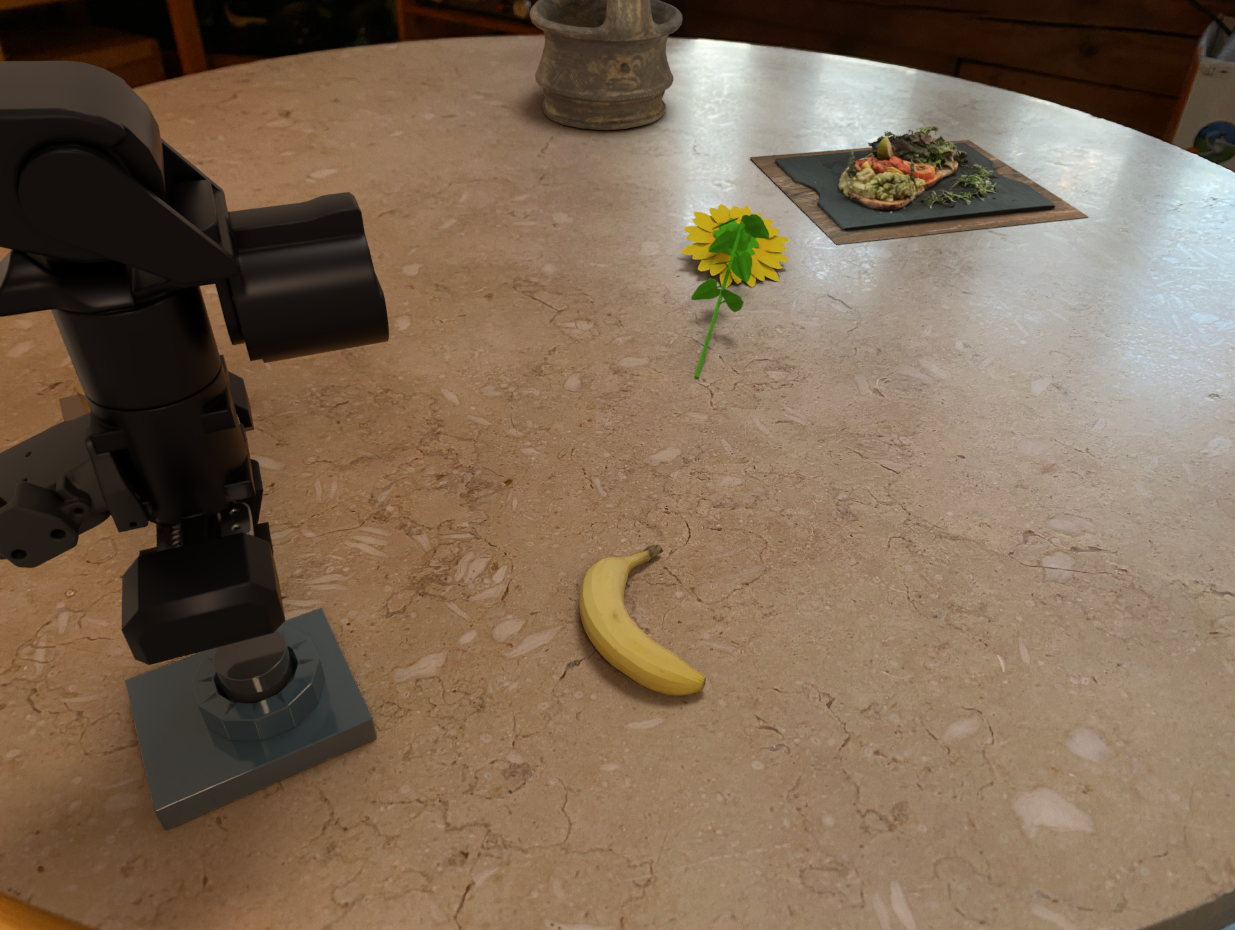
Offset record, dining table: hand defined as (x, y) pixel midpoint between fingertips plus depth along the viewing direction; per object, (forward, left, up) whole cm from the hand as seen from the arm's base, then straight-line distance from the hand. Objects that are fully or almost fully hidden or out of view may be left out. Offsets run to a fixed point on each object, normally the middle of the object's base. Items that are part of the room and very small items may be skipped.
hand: (235, 612), depth 52 cm
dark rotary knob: (0, 0, -5) cm, 5 cm away
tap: (-3, +31, -6) cm, 32 cm away
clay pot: (+73, +86, -9) cm, 113 cm away
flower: (+56, +29, -9) cm, 63 cm away
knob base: (-1, 0, -9) cm, 9 cm away
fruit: (+23, -5, -9) cm, 25 cm away
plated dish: (+94, +42, -9) cm, 103 cm away
